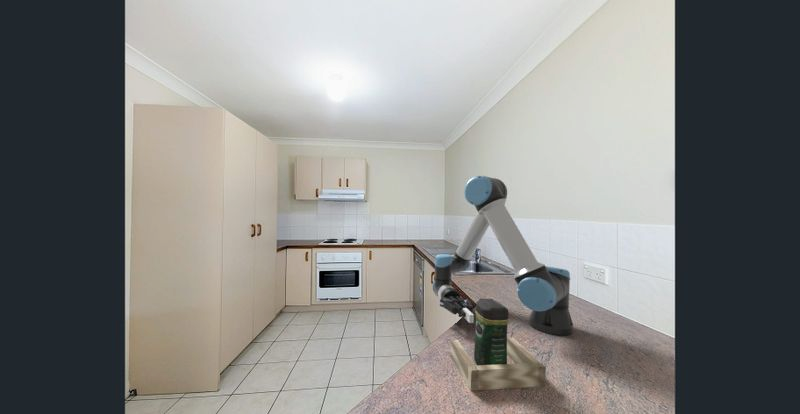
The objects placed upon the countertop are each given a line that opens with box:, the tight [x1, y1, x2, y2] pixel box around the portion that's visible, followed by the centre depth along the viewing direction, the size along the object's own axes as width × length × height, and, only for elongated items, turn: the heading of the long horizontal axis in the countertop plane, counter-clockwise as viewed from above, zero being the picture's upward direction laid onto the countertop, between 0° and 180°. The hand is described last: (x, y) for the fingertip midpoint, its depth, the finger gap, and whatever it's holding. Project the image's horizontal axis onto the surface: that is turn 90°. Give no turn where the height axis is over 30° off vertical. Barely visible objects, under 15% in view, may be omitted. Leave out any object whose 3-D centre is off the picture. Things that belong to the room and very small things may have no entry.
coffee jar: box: [473, 298, 510, 366], centre depth 82 cm, size 10×8×19 cm
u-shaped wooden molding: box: [449, 337, 547, 392], centre depth 80 cm, size 20×16×5 cm
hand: (471, 318), depth 96 cm, fingers closed
